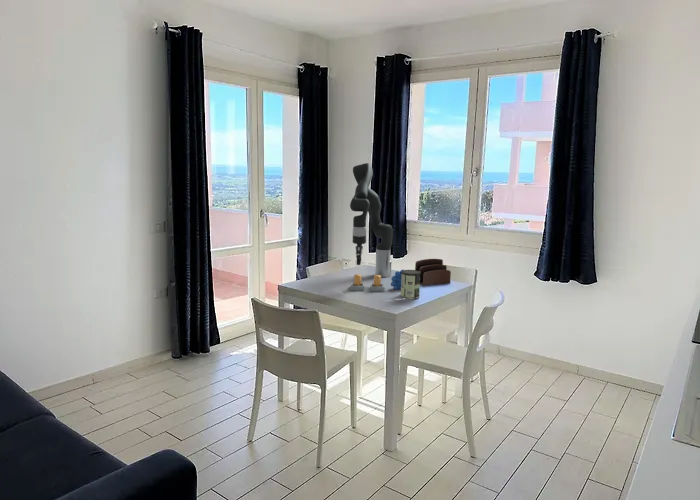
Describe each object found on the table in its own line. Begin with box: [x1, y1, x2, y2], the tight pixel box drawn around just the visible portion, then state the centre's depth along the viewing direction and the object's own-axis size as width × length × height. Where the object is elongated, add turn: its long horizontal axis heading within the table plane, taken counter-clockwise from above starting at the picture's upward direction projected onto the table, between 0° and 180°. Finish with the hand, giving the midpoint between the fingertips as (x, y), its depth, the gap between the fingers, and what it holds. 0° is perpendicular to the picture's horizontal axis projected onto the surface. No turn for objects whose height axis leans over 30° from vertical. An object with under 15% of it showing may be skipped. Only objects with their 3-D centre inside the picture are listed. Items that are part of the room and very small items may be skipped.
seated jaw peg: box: [373, 274, 382, 287], centre depth 288 cm, size 4×4×8 cm
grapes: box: [390, 269, 404, 290], centre depth 292 cm, size 12×7×12 cm, turn 109°
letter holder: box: [414, 258, 452, 286], centre depth 312 cm, size 10×20×14 cm, turn 115°
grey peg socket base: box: [348, 282, 386, 293], centre depth 289 cm, size 20×11×4 cm, turn 86°
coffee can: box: [400, 269, 421, 300], centre depth 278 cm, size 10×10×14 cm
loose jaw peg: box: [353, 273, 362, 286], centre depth 289 cm, size 4×4×8 cm
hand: (358, 263), depth 287 cm, fingers open, 8 cm apart
